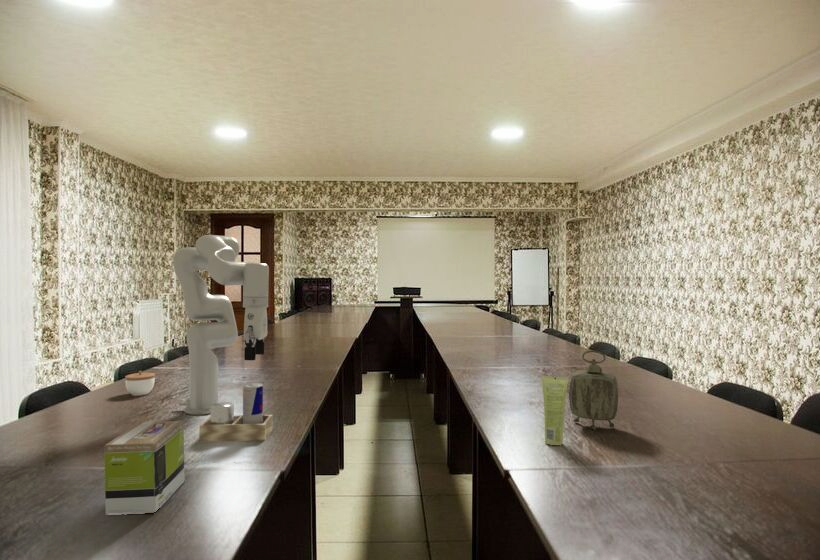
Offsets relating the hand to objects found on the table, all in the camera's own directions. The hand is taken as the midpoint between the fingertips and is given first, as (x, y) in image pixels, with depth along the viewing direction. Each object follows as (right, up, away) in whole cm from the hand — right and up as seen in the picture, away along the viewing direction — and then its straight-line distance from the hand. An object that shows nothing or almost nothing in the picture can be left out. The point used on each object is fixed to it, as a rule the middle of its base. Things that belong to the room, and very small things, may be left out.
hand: (254, 357), depth 144 cm
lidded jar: (-63, -23, +46) cm, 81 cm away
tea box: (-8, -23, -44) cm, 51 cm away
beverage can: (+2, -22, -7) cm, 23 cm away
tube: (+91, -24, -10) cm, 94 cm away
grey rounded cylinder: (-7, -22, -7) cm, 24 cm away
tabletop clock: (+108, -24, +4) cm, 110 cm away
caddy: (-3, -23, -7) cm, 24 cm away
